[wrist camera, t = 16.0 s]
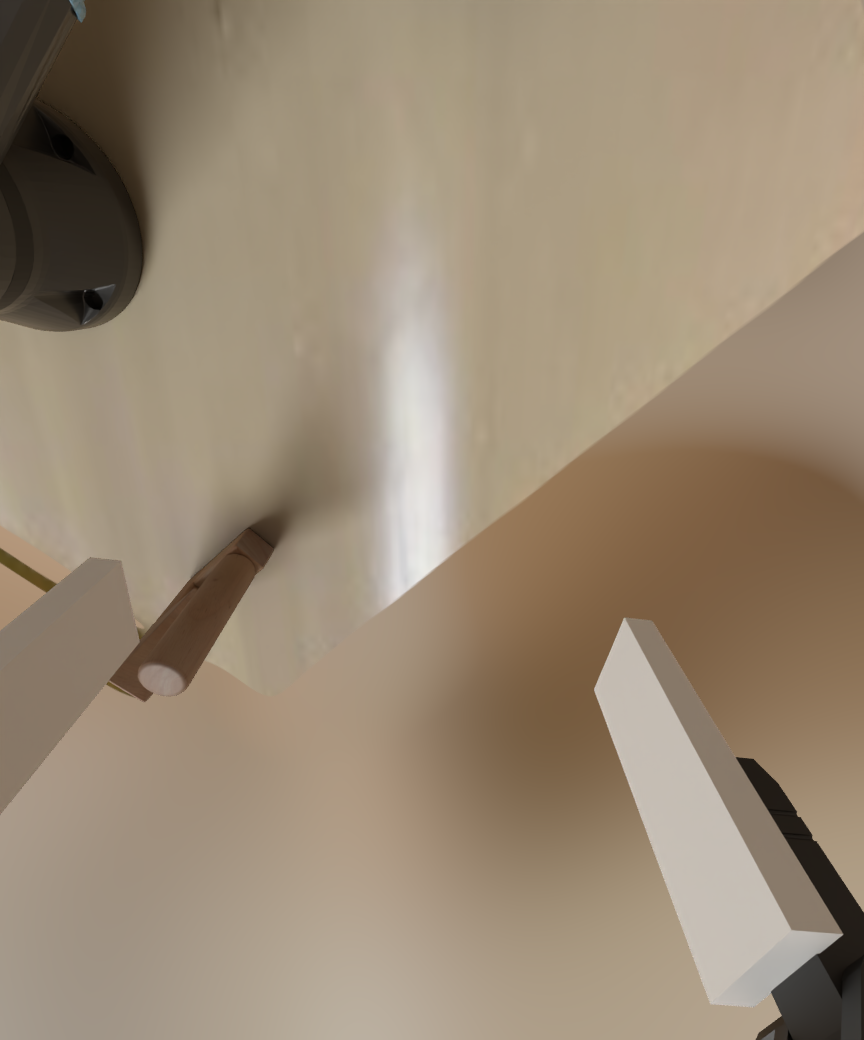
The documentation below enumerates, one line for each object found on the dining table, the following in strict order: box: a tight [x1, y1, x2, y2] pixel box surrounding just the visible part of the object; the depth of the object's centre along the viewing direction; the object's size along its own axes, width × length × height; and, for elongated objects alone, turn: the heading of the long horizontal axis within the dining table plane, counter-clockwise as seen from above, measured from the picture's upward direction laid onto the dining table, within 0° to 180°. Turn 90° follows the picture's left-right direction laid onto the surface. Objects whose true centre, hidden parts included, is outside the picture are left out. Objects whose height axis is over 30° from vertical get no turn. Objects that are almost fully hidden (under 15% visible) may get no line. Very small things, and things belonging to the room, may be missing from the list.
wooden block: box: [109, 528, 274, 702], centre depth 42 cm, size 4×11×18 cm, turn 131°
